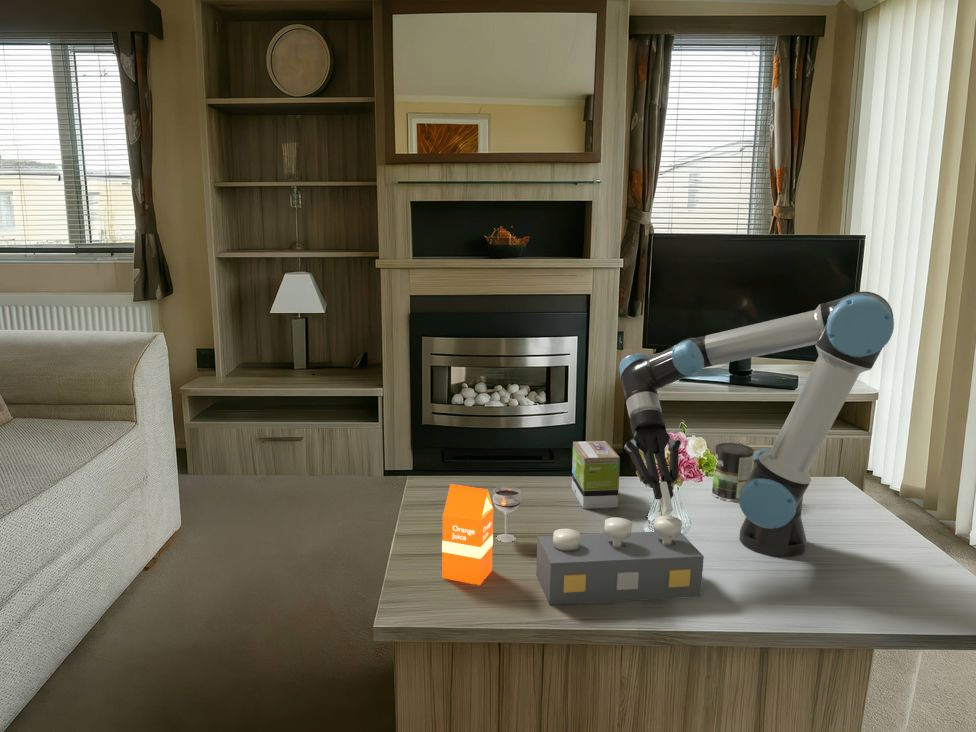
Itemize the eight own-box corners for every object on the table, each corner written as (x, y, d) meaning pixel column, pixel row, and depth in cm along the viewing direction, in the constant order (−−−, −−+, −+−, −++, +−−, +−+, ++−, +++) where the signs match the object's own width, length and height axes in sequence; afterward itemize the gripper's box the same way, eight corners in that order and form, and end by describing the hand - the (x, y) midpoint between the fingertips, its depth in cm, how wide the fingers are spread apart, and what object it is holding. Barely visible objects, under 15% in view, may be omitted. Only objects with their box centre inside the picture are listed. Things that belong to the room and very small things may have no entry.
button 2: (673, 547, 165) (675, 515, 164) (683, 558, 160) (686, 525, 158) (648, 548, 164) (651, 516, 163) (658, 559, 159) (660, 526, 158)
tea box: (570, 489, 217) (572, 440, 215) (604, 489, 219) (606, 439, 216) (582, 509, 203) (584, 456, 200) (618, 508, 204) (621, 456, 201)
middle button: (625, 549, 164) (626, 517, 162) (633, 560, 158) (635, 527, 157) (599, 550, 163) (601, 517, 161) (607, 561, 157) (609, 528, 156)
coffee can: (717, 501, 210) (721, 453, 208) (707, 488, 221) (711, 442, 218) (754, 502, 210) (758, 454, 207) (743, 489, 220) (747, 443, 218)
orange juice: (479, 585, 160) (481, 495, 156) (441, 578, 163) (442, 489, 159) (492, 569, 167) (494, 483, 163) (455, 563, 170) (456, 478, 166)
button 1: (575, 560, 162) (576, 528, 161) (581, 572, 157) (583, 539, 156) (549, 561, 162) (550, 529, 160) (555, 573, 156) (556, 540, 155)
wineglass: (502, 530, 188) (503, 484, 186) (525, 537, 184) (526, 490, 182) (486, 539, 183) (487, 491, 180) (509, 546, 179) (510, 498, 177)
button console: (676, 568, 169) (679, 530, 168) (701, 597, 156) (704, 557, 155) (536, 575, 165) (537, 536, 163) (549, 605, 152) (551, 564, 150)
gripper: (668, 423, 178) (691, 518, 165) (614, 424, 176) (633, 520, 163) (678, 407, 171) (703, 504, 158) (622, 408, 170) (643, 506, 157)
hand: (667, 512), depth 161 cm, fingers closed
